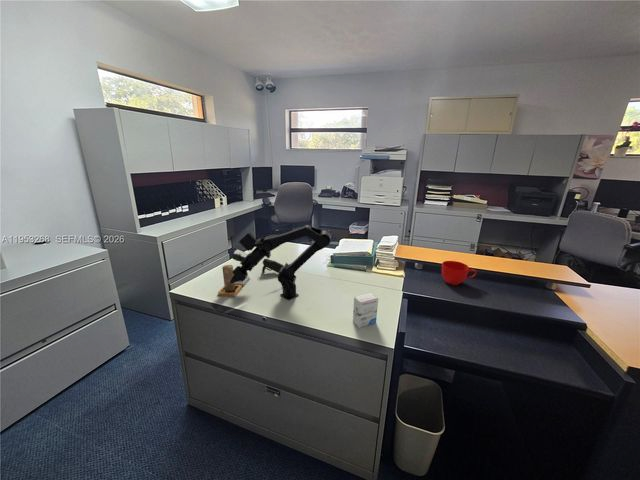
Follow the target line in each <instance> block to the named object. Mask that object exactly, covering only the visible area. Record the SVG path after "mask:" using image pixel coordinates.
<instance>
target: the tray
mask: <svg viewBox="0 0 640 480" xmlns="http://www.w3.org/2000/svg"><path fill="white" fill-rule="evenodd" d="M250 280H251V278H250V276H249V275H248V276H247V277H246V278H245V279H244V280H243V281H237V282H235V291H234V292H225V286H222V287H221V288H220V289H219V291H218V292H217V295H216V297H226V298H236V297H237V295H238V294H239V293H241V291H242V290H243V288H244V287H245V286H246V285H247V283H248V282H249V281H250Z"/></svg>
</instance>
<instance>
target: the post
mask: <svg viewBox="0 0 640 480" xmlns="http://www.w3.org/2000/svg"><path fill="white" fill-rule="evenodd" d="M221 269H222V275H223V284H224V286H225V292H234V291H235V282H234V283H230V281H231V279H232V277H233V276H234V274H233V273H232V271H233V270H234V265H232V264H226V265H223V266H222V267H221ZM224 286H223V287H224Z"/></svg>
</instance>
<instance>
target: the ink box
mask: <svg viewBox="0 0 640 480" xmlns="http://www.w3.org/2000/svg"><path fill="white" fill-rule="evenodd" d="M378 304H379V298H378V296H376V295H375V294H373V293H372V292H370V293H365V294H361V295H357V296H354V297H353V311H352V312H353V313H352V315H353V316H352V322H353V323H354V324H355V325H356V327H357V328H359V329H360V328H363V327H367V326H369V325H372V324H376V323H377V317H378V316H377V315H378V308H379V307H378Z"/></svg>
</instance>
